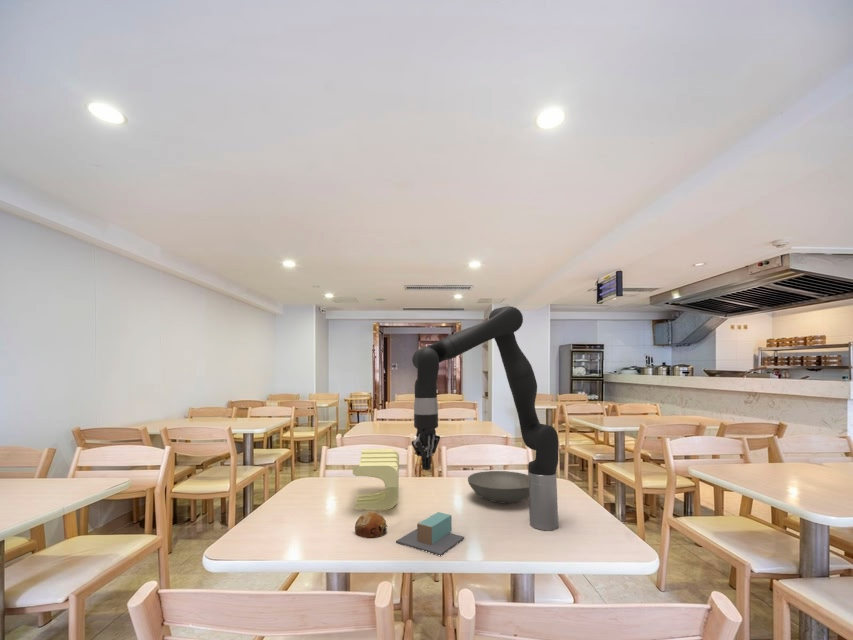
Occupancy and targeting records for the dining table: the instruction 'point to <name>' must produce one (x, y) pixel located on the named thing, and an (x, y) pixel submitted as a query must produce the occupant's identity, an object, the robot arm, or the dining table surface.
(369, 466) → the slatted curved stool
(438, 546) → the mat
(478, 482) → the bowl
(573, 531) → the dining table surface
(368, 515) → the bread roll
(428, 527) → the teal block
